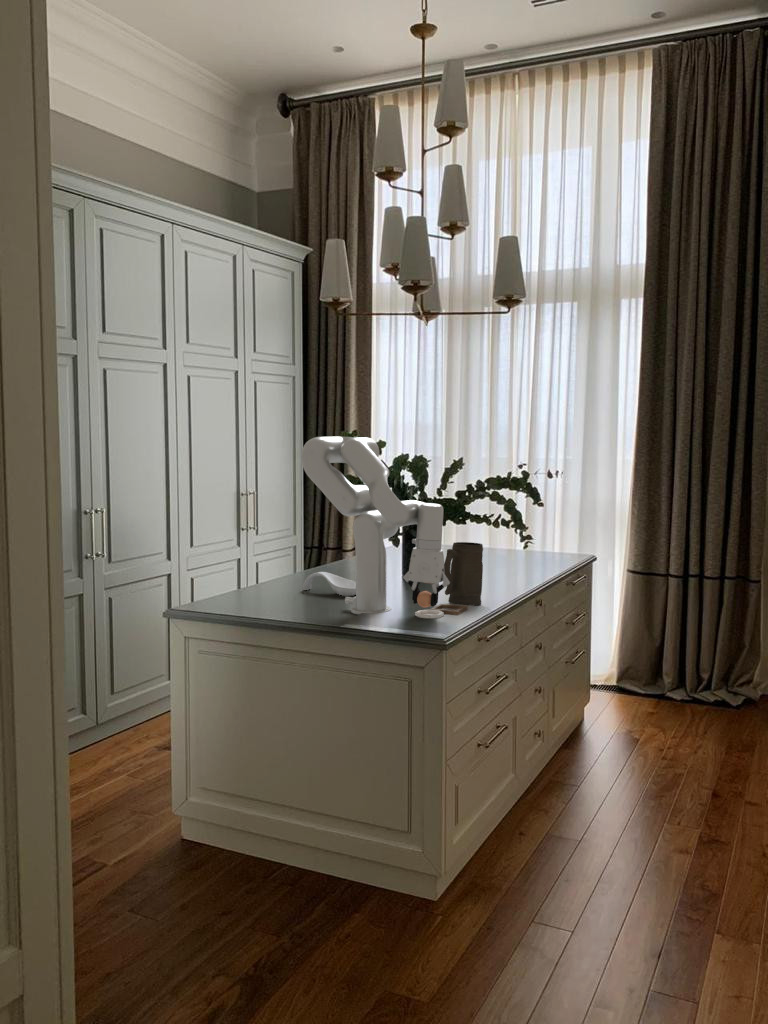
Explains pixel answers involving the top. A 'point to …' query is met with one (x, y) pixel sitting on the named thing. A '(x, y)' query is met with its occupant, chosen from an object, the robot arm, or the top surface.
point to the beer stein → (464, 573)
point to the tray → (457, 612)
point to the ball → (424, 599)
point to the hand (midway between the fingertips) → (424, 603)
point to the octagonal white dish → (429, 613)
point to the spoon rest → (333, 583)
